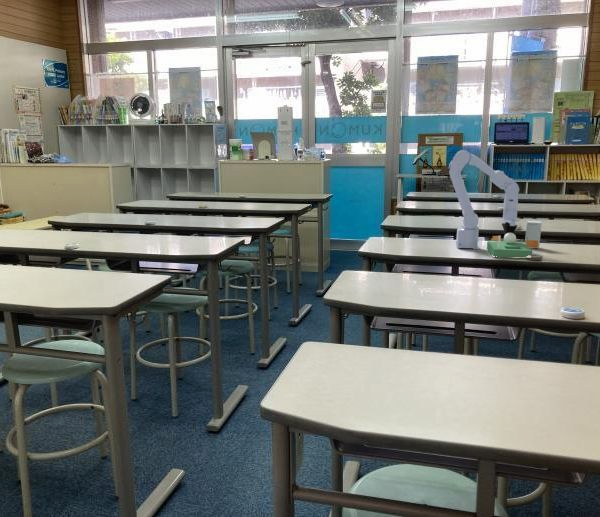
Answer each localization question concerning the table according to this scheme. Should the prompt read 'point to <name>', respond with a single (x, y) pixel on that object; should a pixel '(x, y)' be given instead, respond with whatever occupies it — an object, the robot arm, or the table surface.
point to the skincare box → (533, 234)
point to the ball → (509, 238)
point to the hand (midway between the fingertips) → (508, 239)
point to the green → (507, 248)
